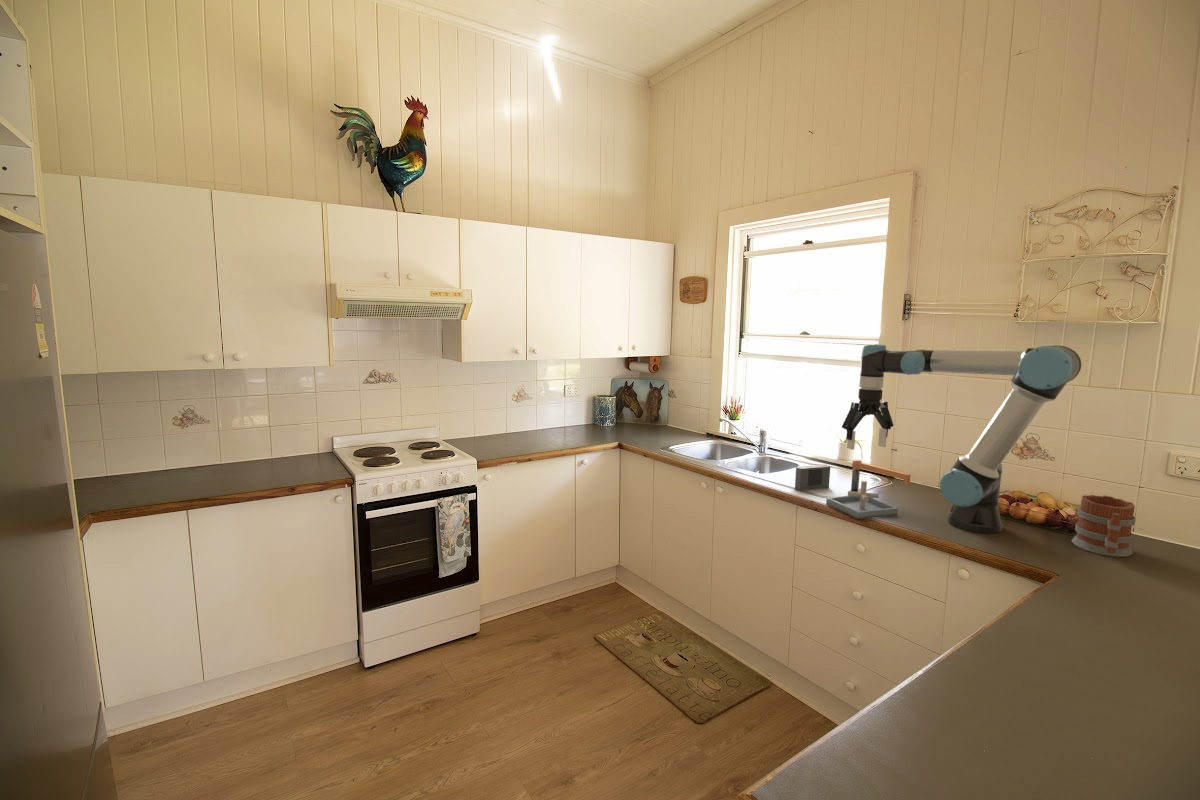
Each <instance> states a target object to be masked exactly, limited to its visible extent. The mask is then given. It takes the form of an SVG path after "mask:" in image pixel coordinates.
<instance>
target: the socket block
mask: <svg viewBox="0 0 1200 800" xmlns="http://www.w3.org/2000/svg"><path fill="white" fill-rule="evenodd" d="M830 478H831V466H830V465H827V464H818V465H804V466H796V467H795V479H794V480H795V481H794V489H795V490H797V491H799V492H803V491H811V490H820V489H821V490H822V489H829V488H830Z"/></svg>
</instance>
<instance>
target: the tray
mask: <svg viewBox="0 0 1200 800" xmlns="http://www.w3.org/2000/svg"><path fill="white" fill-rule="evenodd" d="M825 501H826V503H825V505H827V506H829V507H831V508H832V509H835V510H837V511H839V512H842V513H843V514H846V515H848V516H850V517H853V518H854V519H856V520H864V519H865V520H866V519H873V518H875V517H876V518H882V517H883V518H884V517H890V516H891V517H893V516H898V512H899V511H898V509H899V508H898V507H896V506H893V505H891V504H889V503H886V502H883V501H882V500H879V499H878V498H869V501H868V502H865V509H860V508H859V505H860V497H853V496H848V495H842V496H841V495H840V496H832V497H826V500H825Z"/></svg>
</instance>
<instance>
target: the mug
mask: <svg viewBox="0 0 1200 800" xmlns="http://www.w3.org/2000/svg"><path fill="white" fill-rule="evenodd" d="M1135 507H1136V506H1135V504H1134V503H1133V502H1131V501H1126V500H1124V499H1122V498H1116V497H1114V496H1111V495H1110V496H1109V495H1102V496H1101V495H1095V494H1089V495H1086V494H1083V495H1082V496H1081V502H1080V506H1078V508H1077V512H1076V513H1077V515H1078V521H1077V522H1076V523H1075V528H1074V530H1075V531H1076V535H1075V536H1074V537H1073V538H1071V542H1072V543H1073V545H1074V546H1076V547H1077V548H1078V549H1081V550H1084V551H1086V552H1090V553H1093V554H1096V555H1102V556H1108V557H1114V558H1125V557H1129V556H1131V555H1133V550H1132V549H1131V547H1130V543H1132V542H1133V537H1134V534H1133V533H1132V527H1133V526H1134V525H1136V516H1134V514H1135Z"/></svg>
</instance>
